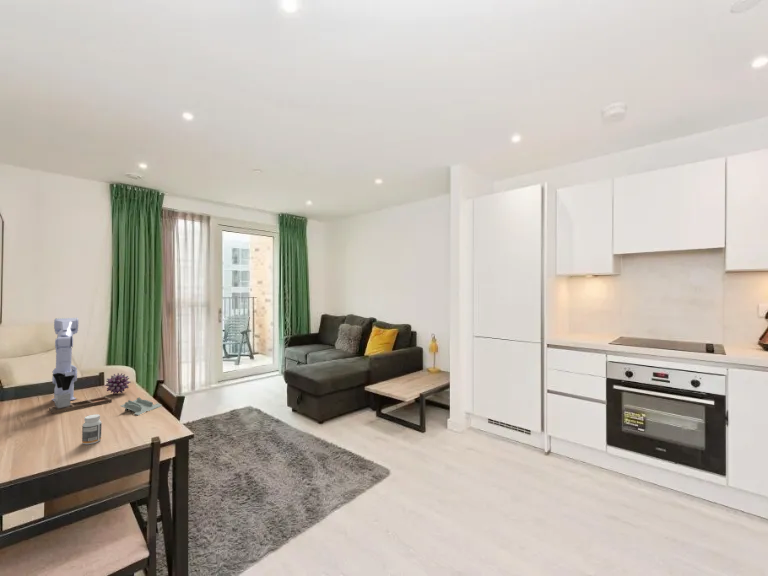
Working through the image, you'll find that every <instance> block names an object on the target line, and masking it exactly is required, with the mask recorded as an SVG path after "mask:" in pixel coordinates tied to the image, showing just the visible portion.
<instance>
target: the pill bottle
mask: <svg viewBox="0 0 768 576" xmlns="http://www.w3.org/2000/svg"><path fill="white" fill-rule="evenodd" d="M100 419H101V415H100V414H98V413H97V414H90V415H87V416H85V417H84V423H83V424H82V428H81V429H82V431H81V433H82V434H81V439H82V440H81V443H82V444H83V445H88V446H89V445H94V444H96V443H99V442H100V441H101V440H102V424H103V423H102V420H100Z"/></svg>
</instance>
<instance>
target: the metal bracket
mask: <svg viewBox="0 0 768 576" xmlns="http://www.w3.org/2000/svg"><path fill="white" fill-rule="evenodd" d="M162 406H163V405H162V404H161V403H158V402H157V403H155V404H153V402H152V401H150V400H147V399H142V398H141V397H137V398H136V399H134V400H130V399H129V400H128V401H127V402H124V404H121V405H120V407H121V408H124V411H127V409H128V411H129V410H130V411H132V412H134V413H133V414H134V415H135V416H138V415H139V416H141V415H140V414H142V413H144V412H146V411H149V412H151V411H153V410H155V409H158V408H160V407H162ZM150 410H151V411H150ZM146 413H147V412H146ZM144 414H145V413H144ZM142 415H143V414H142Z"/></svg>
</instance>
